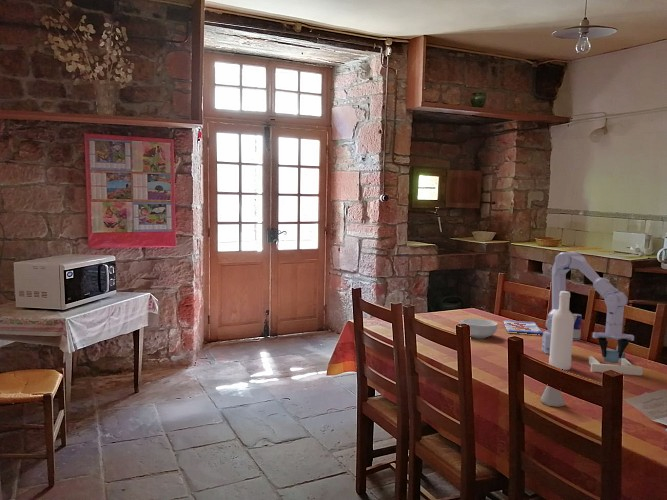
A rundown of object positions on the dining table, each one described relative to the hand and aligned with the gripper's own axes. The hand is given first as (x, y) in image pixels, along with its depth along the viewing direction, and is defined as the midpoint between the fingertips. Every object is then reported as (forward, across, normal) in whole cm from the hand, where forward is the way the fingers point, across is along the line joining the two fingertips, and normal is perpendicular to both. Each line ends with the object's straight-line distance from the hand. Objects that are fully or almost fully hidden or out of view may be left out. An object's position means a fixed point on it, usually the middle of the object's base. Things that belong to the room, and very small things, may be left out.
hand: (611, 357), depth 209 cm
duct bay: (+4, 0, 0) cm, 4 cm away
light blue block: (+2, 0, 0) cm, 2 cm away
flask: (+5, -32, -45) cm, 55 cm away
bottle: (+5, -20, -4) cm, 21 cm away
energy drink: (+5, -2, +44) cm, 44 cm away
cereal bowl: (+5, -47, +37) cm, 60 cm away
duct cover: (+4, +7, +12) cm, 15 cm away
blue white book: (+5, -23, +58) cm, 63 cm away
